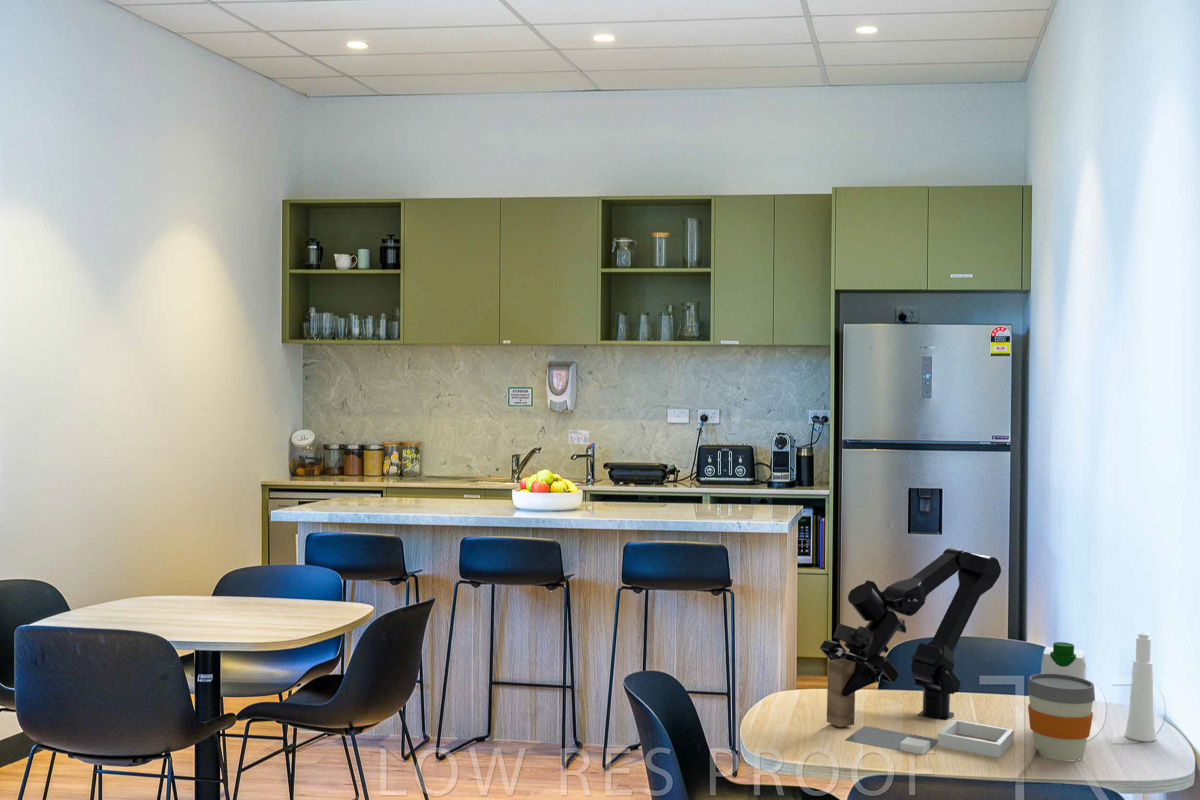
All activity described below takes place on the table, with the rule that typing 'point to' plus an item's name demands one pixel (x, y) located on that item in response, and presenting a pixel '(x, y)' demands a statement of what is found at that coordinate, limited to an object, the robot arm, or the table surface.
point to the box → (994, 749)
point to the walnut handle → (840, 693)
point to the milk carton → (1063, 660)
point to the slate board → (885, 738)
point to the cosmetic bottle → (1141, 694)
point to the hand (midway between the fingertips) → (836, 692)
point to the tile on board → (915, 745)
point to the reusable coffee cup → (1060, 715)
